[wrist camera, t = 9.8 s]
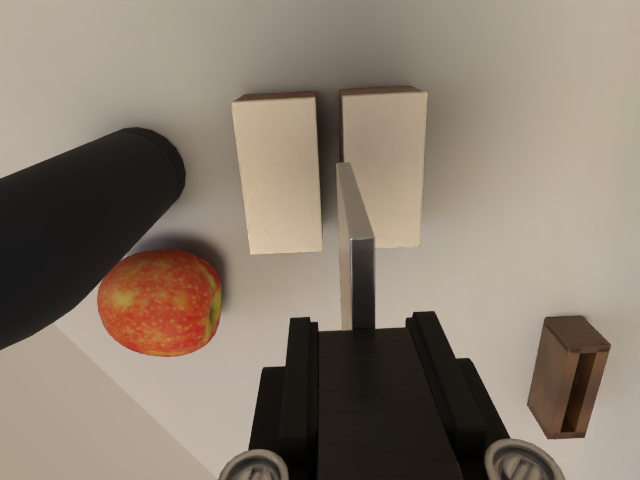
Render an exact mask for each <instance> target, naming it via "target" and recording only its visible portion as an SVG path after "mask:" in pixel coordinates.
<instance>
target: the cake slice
mask: <svg viewBox="0 0 640 480" xmlns="http://www.w3.org/2000/svg"><path fill="white" fill-rule="evenodd" d="M427 97H428V93H427V92H425V91H422V90H419V89H417V88H414V87H411V86H399V87H380V88H361V89H342V90H339V120H340V154H341V163H343V162H350V163H351V166H352V169H353V172H354V175H355V178H356V181H357V184H358V187H359V190H360V193H361V196H362V199H363V202H364V205H365V208H366V212H367V215H368V218H369V221H370V224H371V227H372V230H373V233H374V236H375V249H382V248H403V247H420V231H421V212H422V193H423V174H424V155H425V135H426V116H427Z"/></svg>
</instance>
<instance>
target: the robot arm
mask: <svg viewBox="0 0 640 480" xmlns="http://www.w3.org/2000/svg"><path fill="white" fill-rule="evenodd" d="M406 327H409V328H410V330H411V333H412V336H413V338H414V341H415V344H416V347H417V350H418V353H419V356H420V359H421V362H422V364H423V367H424V370H425V373H426V376H427V379H428V382H429V385H430V388H431V390H432V393H433V396H434V399H435V402H436V405H437V408H438V411H439V414H440V416H441V419H442V422H443V423H444V424H445V427H446V429H447V432H448V435H449V438H450V441H451V444H452V447H453V449H454V452H455V455H456V458H457V461H458V464H459V466H460V469H461V472H462V475H463V478H464V480H566V479H565V477H564V475H563V473H562V471H561V469H560V468H559V466H558V465H557V464H556V462H555V461H554V459H553V458H552V457H551V456H549V455H548V454H547V453H546V452H545V451H544V450H542V449H541V448H539V447H537V446H536V445H534V444H532V443H529V442H526V441H523V440H519V439H511V438H510V436H509V434H508V432H507V430H506V428H505V426H504V424H503V422H502V420H501V418H500V416H499V414H498V412H497V410H496V408H495V406H494V404H493V402H492V400H491V398H490V396H489V394H488V392H487V390H486V388H485V386H484V384H483V382H482V380H481V378H480V376H479V374H478V372H477V370H476V368H475V366H474V364H473V362H472V361H471V360H470V359H469V358H458V359H456V358H455V356H454V353H453V351H452V349H451V347H450V345H449V342H448V340H447V338H446V336H445V333H444V331H443V329H442V327H441V325H440V322H439V320H438V318H437V316H436V314H435V312H434V311H427V312H414V313H413V316H412V317H411V318H406ZM317 428H318V322H310V317H300V318H290V326H289V336H288V346H287V356H286V366H282V367H264V368H263V369H262V374H261V379H260V385H259V391H258V397H257V403H256V408H255V414H254V420H253V426H252V432H251V437H250V443H249V449H248V451H245V452H243V453H241V454H239V455H237V456H235V457H234V458H233V459H232V460H231V461H229V462H228V463H227V464H226V466H225V467H224V469H223V470H222V471H221V473H220V476H219V479H218V480H316V433H317Z"/></svg>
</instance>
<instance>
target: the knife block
mask: <svg viewBox="0 0 640 480" xmlns="http://www.w3.org/2000/svg"><path fill="white" fill-rule="evenodd" d="M610 347H611V344H610V343H609V342H608V341H607V340H606V339H605V338H604V337H603V336H602V335H601V334H600V333H599V332H598V331H597V330H596V329H595V328H594V327H593V326H592V325H591V324H590V323H589V322H588V321H587V320H586V319H585V318H584V317H583V316H576V317H553V318H545V321H544V326H543V331H542V336H541V341H540V346H539V351H538V356H537V361H536V366H535V371H534V376H533V380H532V385H531V390H530V395H529V400H528V407H529V409H530V410H531V412H532V414H533V415H534V417H535V419H536V421H537V422H538V424H539V426H540V427H541V429H542V431H543V432H544V434H545V436H546V437H547V439H568V438H585V434H586V431H587V427H588V424H589V420H590V417H591V413H592V410H593V407H594V403H595V400H596V396H597V393H598V389H599V386H600V382H601V379H602V375H603V372H604V368H605V365H606V361H607V358H608V354H609V351H610Z"/></svg>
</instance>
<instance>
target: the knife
mask: <svg viewBox="0 0 640 480" xmlns="http://www.w3.org/2000/svg"><path fill="white" fill-rule="evenodd" d="M336 179H337V206H338V234H339V261H340V288H341V316H342V330H339V331H319V332H318V428H317V433H316V480H464V478H463V475H462V472H461V469H460V466H459V464H458V461H457V458H456V455H455V452H454V449H453V447H452V444H451V441H450V438H449V435H448V432H447V429H446V427H445V424H444V423H443V422H442V419H441V416H440V414H439V411H438V408H437V405H436V402H435V399H434V396H433V393H432V390H431V388H430V385H429V382H428V379H427V376H426V373H425V370H424V367H423V364H422V362H421V359H420V356H419V353H418V350H417V347H416V344H415V341H414V338H413V336H412V333H411V330H410V328H409V327H404V328H382V329H375V236H374V233H373V230H372V227H371V224H370V221H369V218H368V215H367V212H366V208H365V205H364V202H363V199H362V196H361V193H360V190H359V187H358V184H357V181H356V178H355V175H354V172H353V169H352V166H351V163H350V162H343V163H336Z"/></svg>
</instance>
